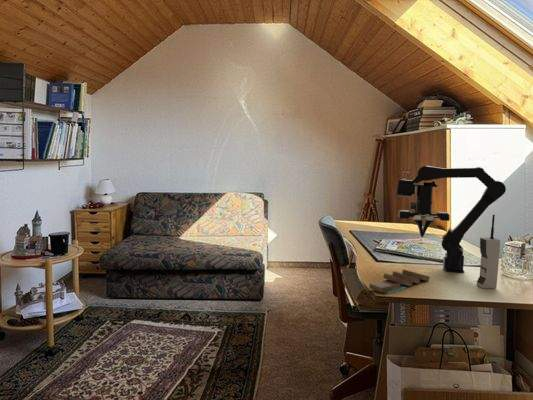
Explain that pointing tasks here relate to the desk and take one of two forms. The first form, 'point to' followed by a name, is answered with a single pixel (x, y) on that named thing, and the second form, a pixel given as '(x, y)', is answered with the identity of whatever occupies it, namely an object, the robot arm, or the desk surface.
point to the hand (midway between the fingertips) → (421, 236)
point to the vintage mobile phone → (489, 260)
